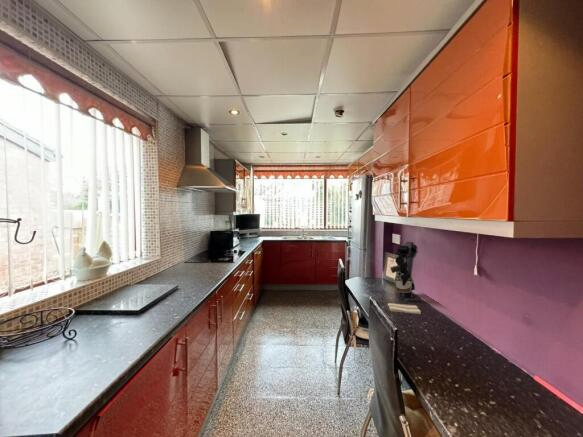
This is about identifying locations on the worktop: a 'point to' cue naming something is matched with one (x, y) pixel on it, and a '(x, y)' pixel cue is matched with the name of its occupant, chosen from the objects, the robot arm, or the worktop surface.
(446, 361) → the worktop surface
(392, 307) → the base board
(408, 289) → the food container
